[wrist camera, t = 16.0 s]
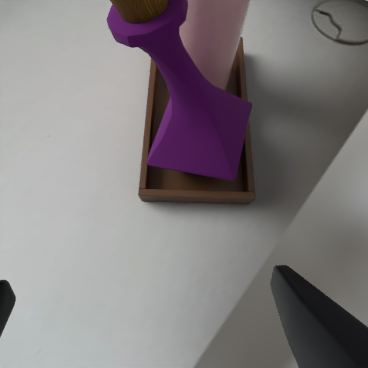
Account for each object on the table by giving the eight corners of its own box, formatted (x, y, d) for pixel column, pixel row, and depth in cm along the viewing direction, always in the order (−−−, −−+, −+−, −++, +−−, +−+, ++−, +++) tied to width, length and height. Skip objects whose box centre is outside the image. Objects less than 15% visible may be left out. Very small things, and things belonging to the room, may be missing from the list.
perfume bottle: (156, 180, 22) (-47, -106, 6) (178, 117, 25) (79, -204, 8) (234, 195, 20) (256, -173, 4) (249, 126, 23) (302, -276, 6)
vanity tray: (249, 204, 22) (255, 198, 20) (141, 201, 22) (138, 195, 20) (238, 52, 28) (242, 36, 26) (155, 49, 28) (153, 33, 26)
